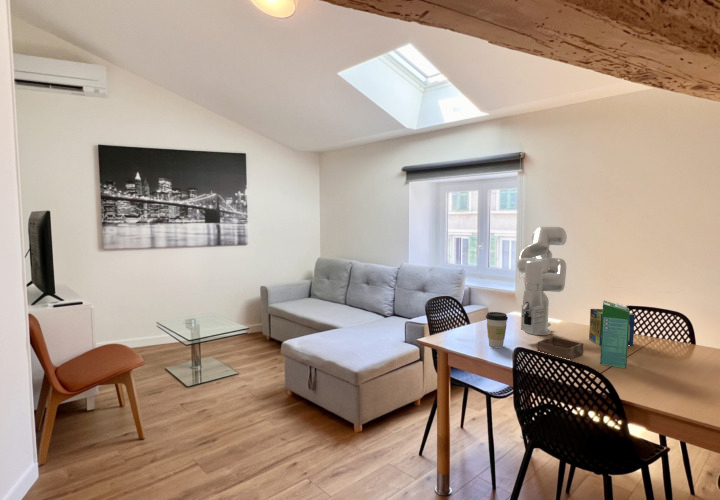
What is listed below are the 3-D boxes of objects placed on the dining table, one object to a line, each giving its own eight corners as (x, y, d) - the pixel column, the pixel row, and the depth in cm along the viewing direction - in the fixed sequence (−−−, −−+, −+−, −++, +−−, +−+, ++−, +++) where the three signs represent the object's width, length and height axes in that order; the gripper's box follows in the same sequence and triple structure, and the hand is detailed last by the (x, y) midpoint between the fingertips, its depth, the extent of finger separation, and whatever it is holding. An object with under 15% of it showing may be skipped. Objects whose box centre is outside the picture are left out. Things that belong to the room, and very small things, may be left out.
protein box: (588, 339, 200) (589, 308, 199) (621, 340, 199) (622, 309, 198) (599, 346, 190) (600, 313, 189) (633, 347, 188) (635, 314, 187)
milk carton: (626, 368, 161) (629, 306, 159) (600, 364, 166) (602, 303, 164) (626, 361, 169) (629, 302, 167) (600, 357, 173) (603, 300, 172)
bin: (552, 347, 188) (552, 336, 188) (582, 354, 177) (583, 343, 177) (537, 352, 180) (537, 341, 179) (568, 361, 169) (568, 349, 169)
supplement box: (520, 330, 197) (520, 304, 195) (531, 327, 200) (531, 302, 198) (532, 334, 190) (533, 307, 189) (543, 331, 193) (544, 305, 192)
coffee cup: (508, 349, 184) (509, 317, 183) (486, 348, 186) (486, 315, 185) (505, 343, 194) (506, 312, 193) (483, 341, 196) (484, 311, 195)
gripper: (535, 283, 201) (534, 317, 203) (516, 288, 190) (515, 324, 192) (550, 285, 195) (549, 320, 197) (531, 290, 184) (530, 328, 186)
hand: (532, 322), depth 194 cm, fingers closed on supplement box, 8 cm apart
